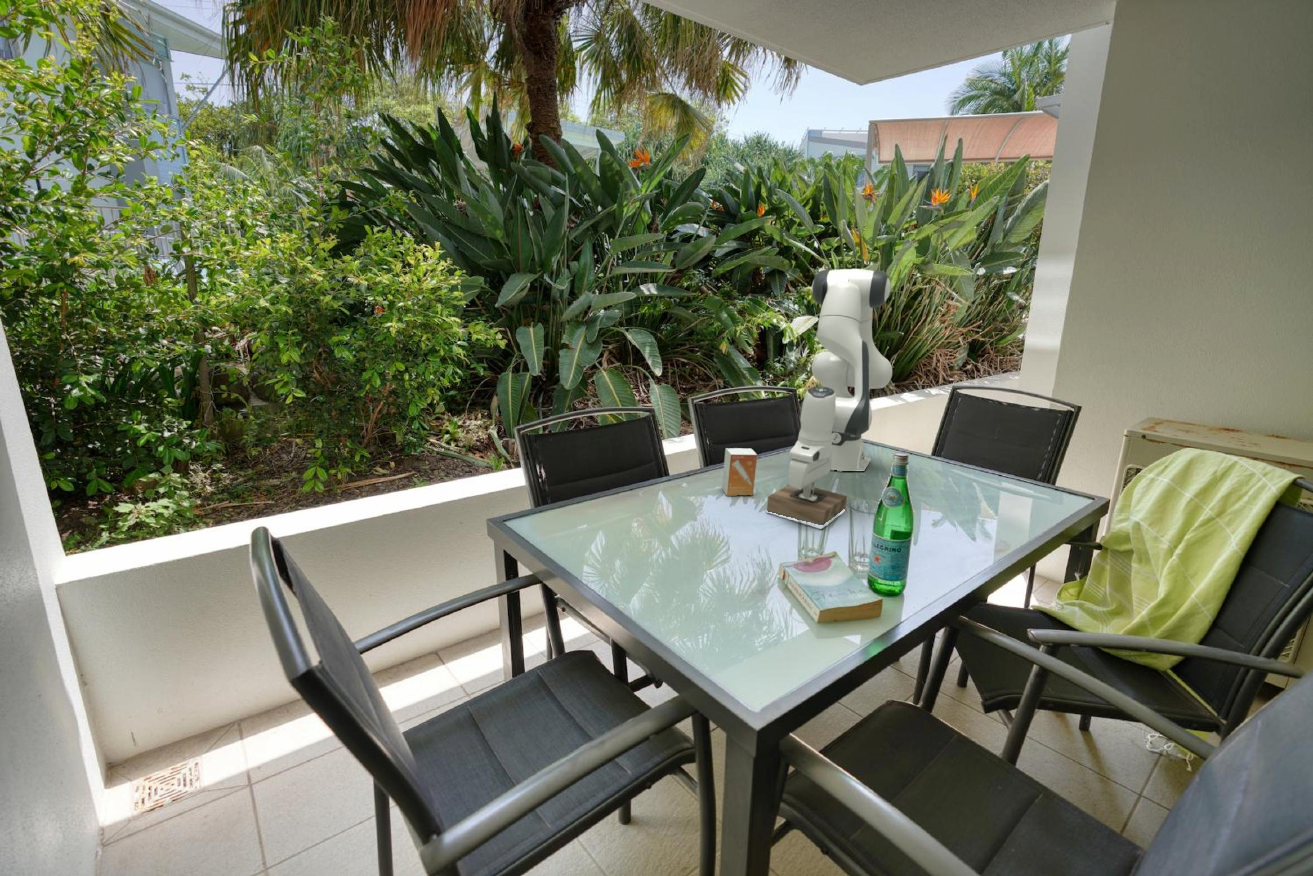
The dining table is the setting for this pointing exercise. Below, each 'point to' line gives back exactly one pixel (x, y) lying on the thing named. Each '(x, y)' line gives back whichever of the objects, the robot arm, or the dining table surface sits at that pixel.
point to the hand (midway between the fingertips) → (808, 495)
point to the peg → (809, 497)
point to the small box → (739, 471)
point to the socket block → (806, 505)
